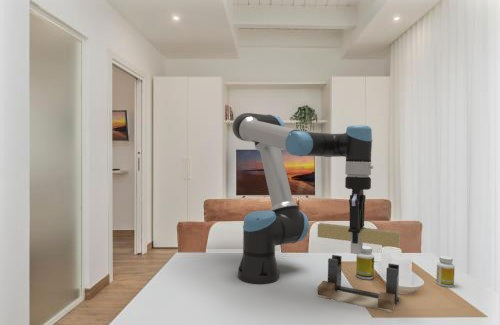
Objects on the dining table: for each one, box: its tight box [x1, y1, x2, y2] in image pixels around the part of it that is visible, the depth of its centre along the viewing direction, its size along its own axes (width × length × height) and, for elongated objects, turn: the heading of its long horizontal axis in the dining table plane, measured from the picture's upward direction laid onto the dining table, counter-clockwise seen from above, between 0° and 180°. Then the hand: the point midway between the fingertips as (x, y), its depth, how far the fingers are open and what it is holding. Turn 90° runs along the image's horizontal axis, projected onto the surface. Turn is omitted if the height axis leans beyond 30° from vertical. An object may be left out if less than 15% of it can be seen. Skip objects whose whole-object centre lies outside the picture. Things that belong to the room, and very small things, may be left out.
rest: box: [316, 280, 396, 313], centre depth 105 cm, size 22×7×3 cm, turn 62°
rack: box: [327, 254, 400, 305], centre depth 110 cm, size 22×6×10 cm, turn 62°
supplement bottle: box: [435, 255, 456, 288], centre depth 120 cm, size 5×5×10 cm
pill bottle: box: [355, 245, 375, 280], centre depth 126 cm, size 6×6×11 cm
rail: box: [317, 222, 401, 248], centre depth 105 cm, size 24×3×4 cm, turn 62°
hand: (356, 252), depth 105 cm, fingers closed on rail, 3 cm apart
